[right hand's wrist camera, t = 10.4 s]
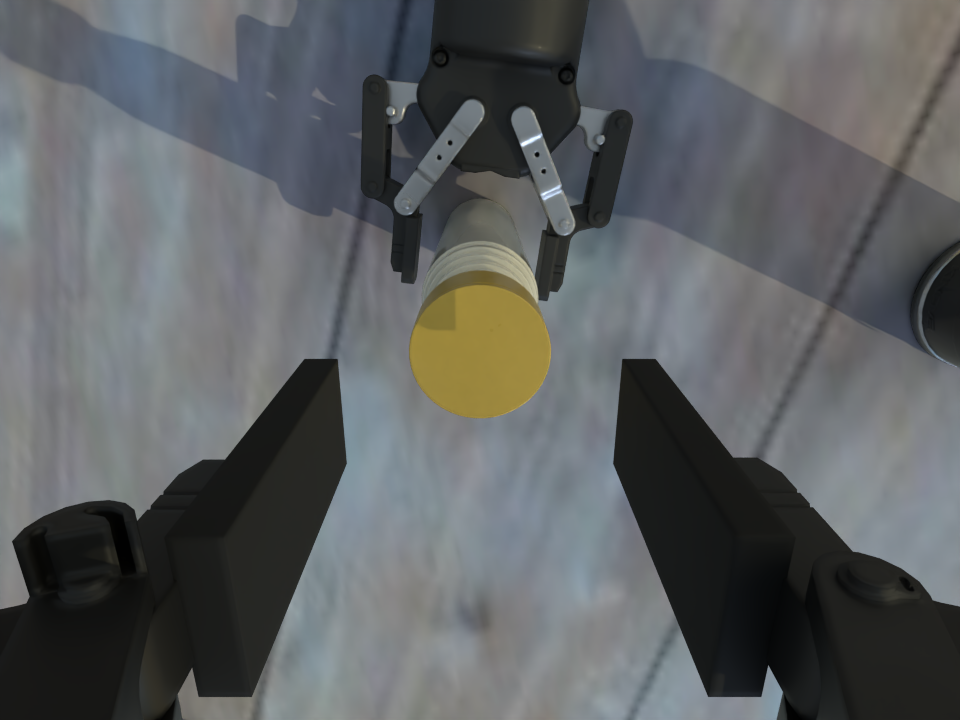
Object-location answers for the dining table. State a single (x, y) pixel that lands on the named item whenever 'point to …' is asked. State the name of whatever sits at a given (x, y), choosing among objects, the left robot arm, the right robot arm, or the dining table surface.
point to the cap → (480, 345)
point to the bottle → (479, 246)
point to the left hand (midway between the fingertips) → (475, 288)
